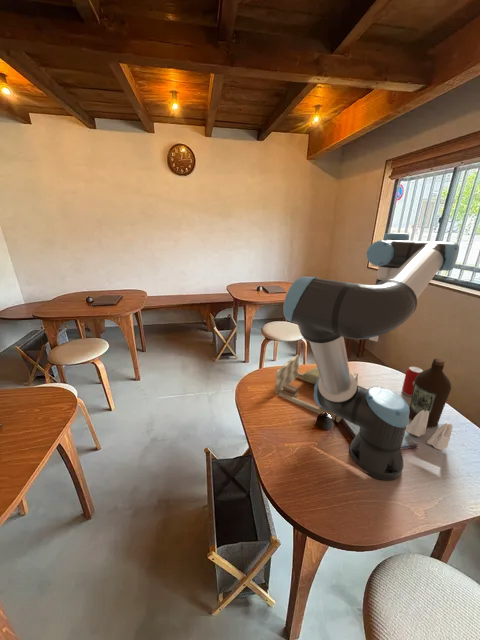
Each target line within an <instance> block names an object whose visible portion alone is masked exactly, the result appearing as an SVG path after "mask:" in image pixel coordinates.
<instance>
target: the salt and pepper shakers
mask: <svg viewBox="0 0 480 640" xmlns="http://www.w3.org/2000/svg"><path fill="white" fill-rule="evenodd" d="M428 416H429V411H424V410H422V411H421V412H419V413H418V414H417V415H416V416H415V417H414V419H413V421H412V420H411V422H410V423H408V425H407V426H406V430H405V432H406V433H409V434H411V435H414V436H416V437H418V438H420V437H422V436H425V435H426V432H427V431H426V430H427V428H428V427H427V422H428ZM452 432H453V424H452V423H447V422H445V423H443V424H442V425H440V426H439V427H438V428H437V429H436V430H435V431H434V433H433V435H432V436H431V437H429V439H428V440H426V443H427V444H428V445H431V446H433V448H435V449H437V450H439V451H443V450H444V449H448V446H449V443H450V439H451V436H452Z"/></svg>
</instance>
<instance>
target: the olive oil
mask: <svg viewBox="0 0 480 640" xmlns="http://www.w3.org/2000/svg"><path fill="white" fill-rule="evenodd" d="M444 367H445V360H444V359H442V358H437V357H435V358H433V361H432V362H431V366H430V368H428V369H425V370H423V371H422V372H420V373H419V374H418V375H417V377H416V378H415V382H414V388H413V393H412V397H411V399H410V404H409V410H410V413H409V419H410V420H411V422H412V421H413V419H414V417H415V416H416V415H417V414H418V413H419V412H421V411H422V410H424V411H429V416H428V422H427V427H426V428H435V427H437V426H438V425H439V422H440V419H441V416H442V413H443V410H444V407H445V405H446V404H447V401H448V398H449V395H450V393H451V390H452V383H451V380H450V379H449V377H448V376H447V375H446V374H445V372H444Z"/></svg>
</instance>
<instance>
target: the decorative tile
mask: <svg viewBox="0 0 480 640" xmlns="http://www.w3.org/2000/svg"><path fill="white" fill-rule="evenodd" d="M303 374H304V375H303V378H304V379H305V380H308V381H311V382H314V383H316V382H317V380H318V378H319V377H320V375H319V371H318V368H317V367H315V368H312V369H310V370H307V371H306V372H305V373H303ZM358 377H359V376H358ZM358 377H357V384H358V379H359V378H358ZM305 380H304V381H305Z"/></svg>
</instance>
